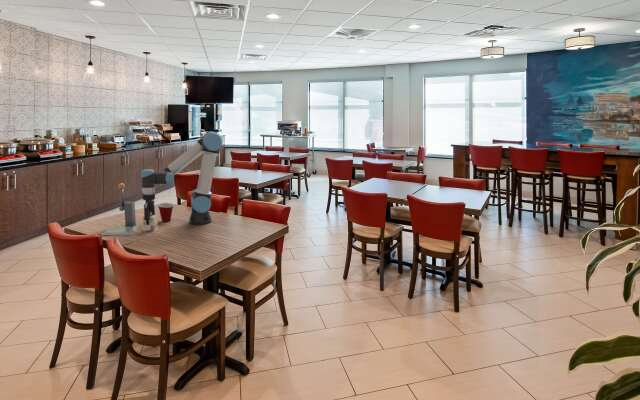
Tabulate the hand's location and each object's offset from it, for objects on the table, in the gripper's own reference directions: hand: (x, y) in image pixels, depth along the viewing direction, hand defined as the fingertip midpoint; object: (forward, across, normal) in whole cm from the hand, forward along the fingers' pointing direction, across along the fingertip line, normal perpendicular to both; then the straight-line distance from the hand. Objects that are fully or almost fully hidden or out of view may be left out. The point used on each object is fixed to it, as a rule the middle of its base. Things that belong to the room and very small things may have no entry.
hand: (150, 227), depth 266 cm
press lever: (-9, -10, -21) cm, 25 cm away
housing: (+1, 0, 0) cm, 1 cm away
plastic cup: (+1, -23, +4) cm, 23 cm away
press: (+1, +1, -16) cm, 16 cm away
